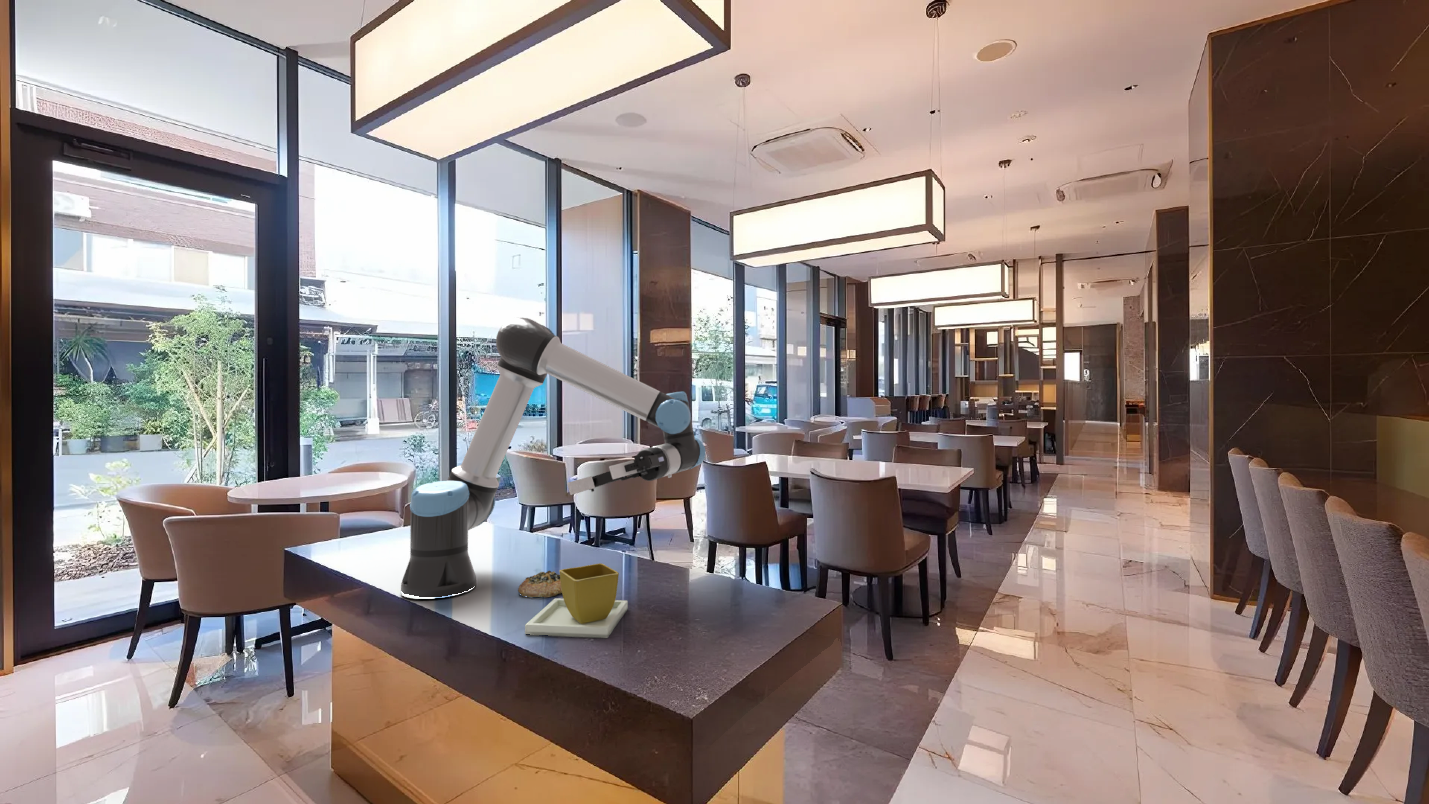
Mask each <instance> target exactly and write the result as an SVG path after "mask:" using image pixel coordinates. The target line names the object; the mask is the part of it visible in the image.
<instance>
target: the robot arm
mask: <svg viewBox="0 0 1429 804" xmlns="http://www.w3.org/2000/svg"><path fill="white" fill-rule="evenodd" d="M495 345H496V350H497V353H498V355H499V356H500V358H499V361H498V363H497V365H496V368H497V370H498V373H499V377H498V378H497V381H496V383H495V386H494V388H493V391H492V393H491V395H490V398H489V400H488V403H487V404H486V406H485V409H484V412H483V414H482V416H481V418H480V420H479V423H478V426H477V428H476V430H475V432H474V434H473V437H472V439H471V441H470V443H469V447H468V448H467V450H466V453H465V455H464V457H463V460H462V462H461V464H460V465H458V466H455V467H453V468H452V469H451V470H450V473H449V476H448V478H447V480H438V481H433V482H428V483H423V484H421V485H419V486H417V487H416V488H414V489H413V490H412V492H411V496H410V503H409V509H410V511H409V512H410V516H409V517H410V520H409V521H410V523H409V524H410V526H409V528H410V533H409V534H410V537H409V539H410V541H409V542H410V546H409V547H410V549H409V550H410V551H409V552H410V553H409V561H408V563H407V566H406V569H405V572H404V575H403V577H402V581H401V583H400V592H401V591H402V592H403V593H404V594H409V595H414V596H419V597H442V596H448V595H452V594H458V593H462V592H464V591H468V590H469V589H471V588H473V587H474V586H475V585H476V586H477V576H476V573H475V570H474V567H473V564H472V561H471V558H470V555H469V531H470V530H472V529H474V528H476V527H478V526H480V525H482V524H483V523H485V522H486V521H487V519H489V517H490V516H491V514H492V513H493V511H494V509H495V506H496V505H495V504H496V494H497V490H498V488H499V486H500V483H499V480H498V479H497V475H498V473H499V472H500V471H499V470H500V468H501V466H502V463H503V461H504V459H505V456H506V455H507V452H508V449H509V447H510V445H511V442H512V440H513V438H514V435H515V434H516V431H517V428H518V426H519V424H520V422H521V421H522V417H523V415H524V412H525V410H526V408H527V405H528V403H529V401H530V399H531V396H532V394H533V392H534V389H536V388H537V387H540V386H542V385H544V382H545V380H546V377H547V376H548V375H549V376H551V377H553V378H555V379H556V380H557V379H558V381H561V382H563V383H566V384H568V385H570V386H572V387H574V388H576V389H578V390H580V391H583V392H585V393H587V394H588V395H590V396H593V397H594V398H595V397H596V399H599V400H601V401H603V402H605V403H608V404H610V405H612V406H613V407H616V408H618V409H620V410H622V411H625V412H626V413H628V414H631V415H632V416H635V417H637V418H638V419H640V420H643V421H646V422H647V423H648V424H651V425H653V426H654V427H657V428H658V429H660V430H661V431H662V434H663V440H664V443H663V444H659V445H658V444H657V445H653V446H652V447H647V448H643V449H641V450H640V451H639V452H637V454H636V456H633V458H634V459H632V460H628V461H624V462H620V463H617V464H612V465H609V466H608V469H609V471H606V472H602V473H600V474H597V475H591V476H587V477H583V478H580V479H576V480H572V481H568V482H566V485H567V488H568V491H569V494H570V496H573V495H575V494H580V493H582V492H586V491H591V493H593V492H595V488H598V487H601V486H605V485H608V484H610V483H614V482H617V481H622V482H623V481H627V480H629V479H636V478H639V477H640V478H641V479H642V480H644V481H646V482H652V481H655V480H658V479H661V478H664V477H667V478H668V479H670V478H673V477H672V476H673V475H674V474H677V473H680V472H681V473H682V472H685V471H687V470H692V469H693V468H695V467H698V466H700V465H701V464H702V463H703V462H704V460H705V459H706V453H707V452H706V447H705V445H704V444H703V442H702V440H701V439H699V438H698V437H695V433H694V430H693V422H692V417H691V415H692V414H691V410H690V402H689V400H688V396H687V395H688V394H687V393H686V392H685V391H676V392H669V393H664V392H662V391H660V390H657V389H656V388H654V387H653V386H650V385H648V384H647V383H644V382H642V381H639V380H637V379H636V378H633V377H631V376H629V375H627V374H626V373H623V372H621V371H619V370H617V369H615V368H613V367H611V366H609V365H607V364H604V363H602V362H600V361H598V360H596V359H595V358H593V357H591V356H588V355H586V354H584V353H582V352H580V351H577V350H575V349H574V348H572V347H569V346H568V345H565V344H564V343H562V342H561V339H560V337H559V336H558V335H555V333H554V332H553V331H552V330H551V329H550V328H549V327H546V326H545V325H543V324H541V323H538V322H537V321H536V320H534V319H531V318H528V317H516V318H515V317H514V318H512V319H510V320H507V321H506V322H505V323H503V324H502V325H501V326H500V328H499V330H498V332H497V334H496V339H495Z"/></svg>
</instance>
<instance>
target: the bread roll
mask: <svg viewBox="0 0 1429 804" xmlns="http://www.w3.org/2000/svg"><path fill="white" fill-rule="evenodd" d="M517 591H518V594H519V593H520V594H521V595H522V596H527V597H544V598H551V597H554V596H557V595H560V594H562V588H561V580H560V573H559V574H557V573H556V571H551V570H547V571H546V572H545V571H540V572H538V573H537V574H534V575H531V576H527V577H526V578H525V579H524V580H523V581H522V582H521V584H520V585H519V586H518V588H517ZM522 596H521V597H522ZM527 597H526V598H527Z"/></svg>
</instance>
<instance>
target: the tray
mask: <svg viewBox="0 0 1429 804" xmlns="http://www.w3.org/2000/svg"><path fill="white" fill-rule="evenodd" d="M628 604H629V603H628V600H622V599H621V600H620V599H619V600H618V599H615V603H614V605H613V608H612V610H611V612H610V613H609V615H608V616H607V618H606V619H602V620H598V621H593V622H589V623H585V624H581V623H579V622H578V621H577V620H576V619H575V618H573V617H572V616H571V614H570V612H569V611H568V609H567V607H566V604H565V602H564V599H563V597H562V598H559V597H558V598H557V597H556V598H554V599H552V600H551V601H550V602H549V603H548V604H547V605H546V606H545V607H543V608H542V609H541V610H540V611H539V612H537V613H536V615H534V616H533V617H532V618H531V619H530V620H529V621H528V622H527V623H526V624H525V625H524V635H525V634H530V635H529V636H539V635H548V636H547V637H566V638H567V637H568V638H569V637H570V638H571V637H572V638H592V639H593V638H594V639H595V638H597V639H608V638H609V637H610V635H611V634H612V633H613V631H614V629H615V628H616V626H617V625H618V624H619V622H620V621H621V620H622V618H623V616H625V614H626V613H627V611H628Z"/></svg>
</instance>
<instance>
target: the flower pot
mask: <svg viewBox="0 0 1429 804" xmlns="http://www.w3.org/2000/svg"><path fill="white" fill-rule="evenodd" d="M559 575H560V580H561V588H562V593H561V594H562V598H563V599H564V602H565V604H566V607H567V609H568V611H569V612H570V614H571V616H572V617H573V618H575V619H576V620H577V621H578V622H579V623H581V624H585V623H589V622H593V621H598V620H602V619H606V618H607V616H608V615H609V613H610V612H611V610H612V608H613V605H614V603H615V600H617V594H618V593H617V591H618V584H619V575H620V574H619V572H618V571H617V570H615V569H613V568H611V567H610V566H607V565H606V564H604V563H601V562H599V563H593V564H587V565H583V566H582V565H581V566H577V567H576V566H575V567H569V568H563V569H559Z"/></svg>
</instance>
